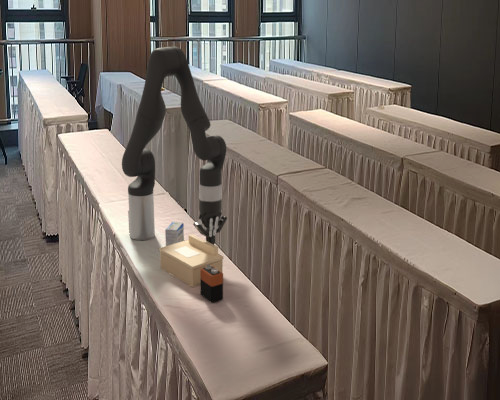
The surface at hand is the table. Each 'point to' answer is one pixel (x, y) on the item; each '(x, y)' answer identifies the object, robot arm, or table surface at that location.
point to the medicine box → (174, 233)
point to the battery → (211, 283)
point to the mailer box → (185, 270)
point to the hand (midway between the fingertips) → (210, 245)
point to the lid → (193, 252)
